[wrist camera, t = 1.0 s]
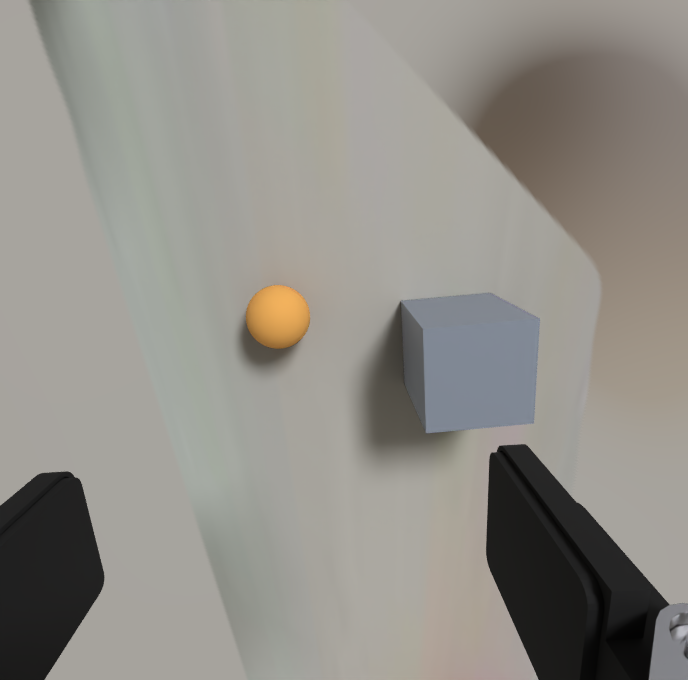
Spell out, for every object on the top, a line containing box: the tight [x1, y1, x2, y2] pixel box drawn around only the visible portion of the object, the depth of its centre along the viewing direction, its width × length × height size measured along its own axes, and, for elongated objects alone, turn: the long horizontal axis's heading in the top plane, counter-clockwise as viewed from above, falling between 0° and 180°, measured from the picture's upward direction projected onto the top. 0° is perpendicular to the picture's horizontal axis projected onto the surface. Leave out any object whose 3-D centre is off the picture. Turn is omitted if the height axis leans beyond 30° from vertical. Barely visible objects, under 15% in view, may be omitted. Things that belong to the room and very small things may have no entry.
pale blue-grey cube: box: [401, 293, 540, 433], centre depth 33 cm, size 8×8×9 cm
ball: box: [246, 285, 310, 349], centre depth 34 cm, size 5×5×5 cm
